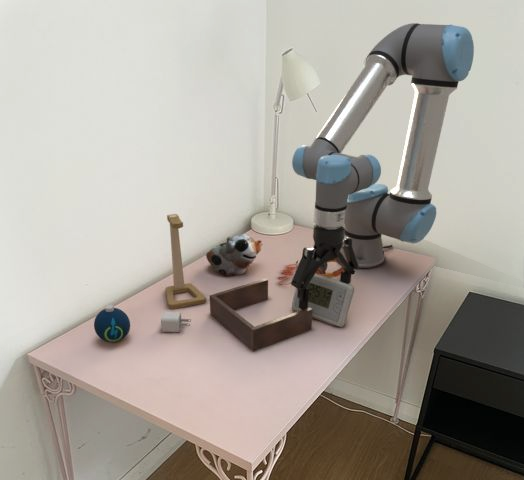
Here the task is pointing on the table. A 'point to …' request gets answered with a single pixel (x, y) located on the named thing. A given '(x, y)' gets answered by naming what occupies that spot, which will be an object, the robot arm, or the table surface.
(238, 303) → the walnut rack
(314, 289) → the digital clock
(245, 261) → the spotted toy animal
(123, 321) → the christmas ornament
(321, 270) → the headphones
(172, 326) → the usb wall charger
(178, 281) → the headphone stand
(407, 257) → the table surface
